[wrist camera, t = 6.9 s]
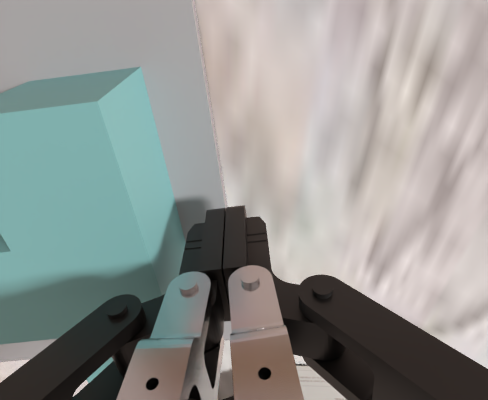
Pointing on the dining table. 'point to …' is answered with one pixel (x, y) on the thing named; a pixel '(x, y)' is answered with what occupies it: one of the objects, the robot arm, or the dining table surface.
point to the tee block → (81, 202)
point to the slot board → (122, 57)
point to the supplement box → (316, 386)
